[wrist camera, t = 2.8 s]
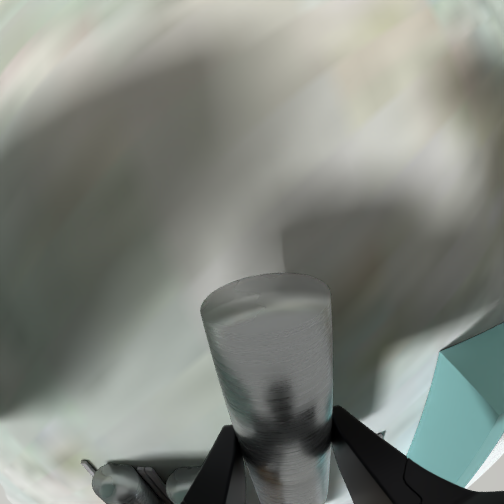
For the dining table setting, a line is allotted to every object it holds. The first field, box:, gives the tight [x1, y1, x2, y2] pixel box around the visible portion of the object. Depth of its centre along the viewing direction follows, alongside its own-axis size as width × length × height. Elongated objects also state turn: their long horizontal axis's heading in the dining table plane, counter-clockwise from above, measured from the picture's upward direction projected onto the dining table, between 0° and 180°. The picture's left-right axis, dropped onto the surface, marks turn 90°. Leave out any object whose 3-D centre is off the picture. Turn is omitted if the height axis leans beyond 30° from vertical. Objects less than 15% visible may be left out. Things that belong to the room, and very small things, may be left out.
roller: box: [200, 273, 333, 504], centre depth 8 cm, size 10×3×3 cm, turn 9°
